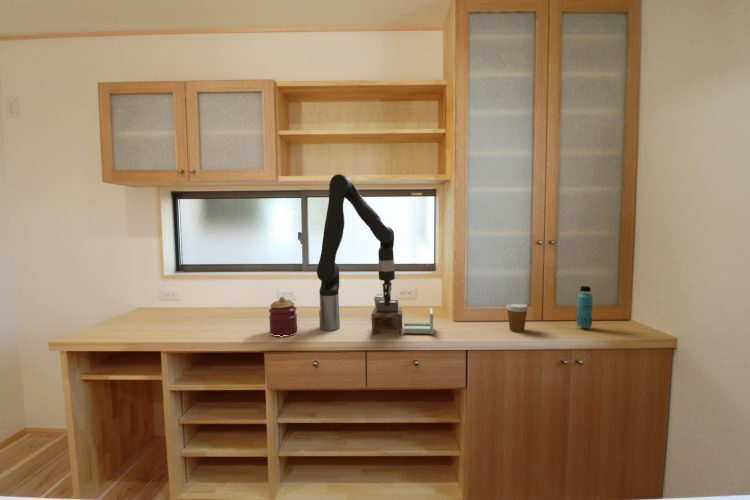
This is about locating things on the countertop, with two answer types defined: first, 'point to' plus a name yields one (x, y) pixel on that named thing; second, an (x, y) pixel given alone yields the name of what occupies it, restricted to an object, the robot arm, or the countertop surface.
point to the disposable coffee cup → (517, 316)
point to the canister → (283, 317)
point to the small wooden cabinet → (386, 320)
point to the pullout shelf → (420, 326)
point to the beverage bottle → (584, 308)
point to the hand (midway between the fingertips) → (387, 303)
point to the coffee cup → (378, 298)
